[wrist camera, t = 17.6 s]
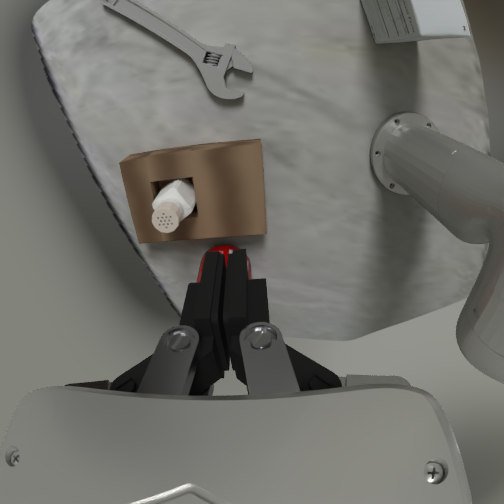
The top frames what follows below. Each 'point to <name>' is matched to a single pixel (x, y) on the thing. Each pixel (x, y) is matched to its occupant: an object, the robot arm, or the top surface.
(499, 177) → the robot arm
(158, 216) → the pepper shaker
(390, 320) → the top surface
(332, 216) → the top surface
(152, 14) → the adjustable wrench
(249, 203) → the socket block
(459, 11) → the supplement box
